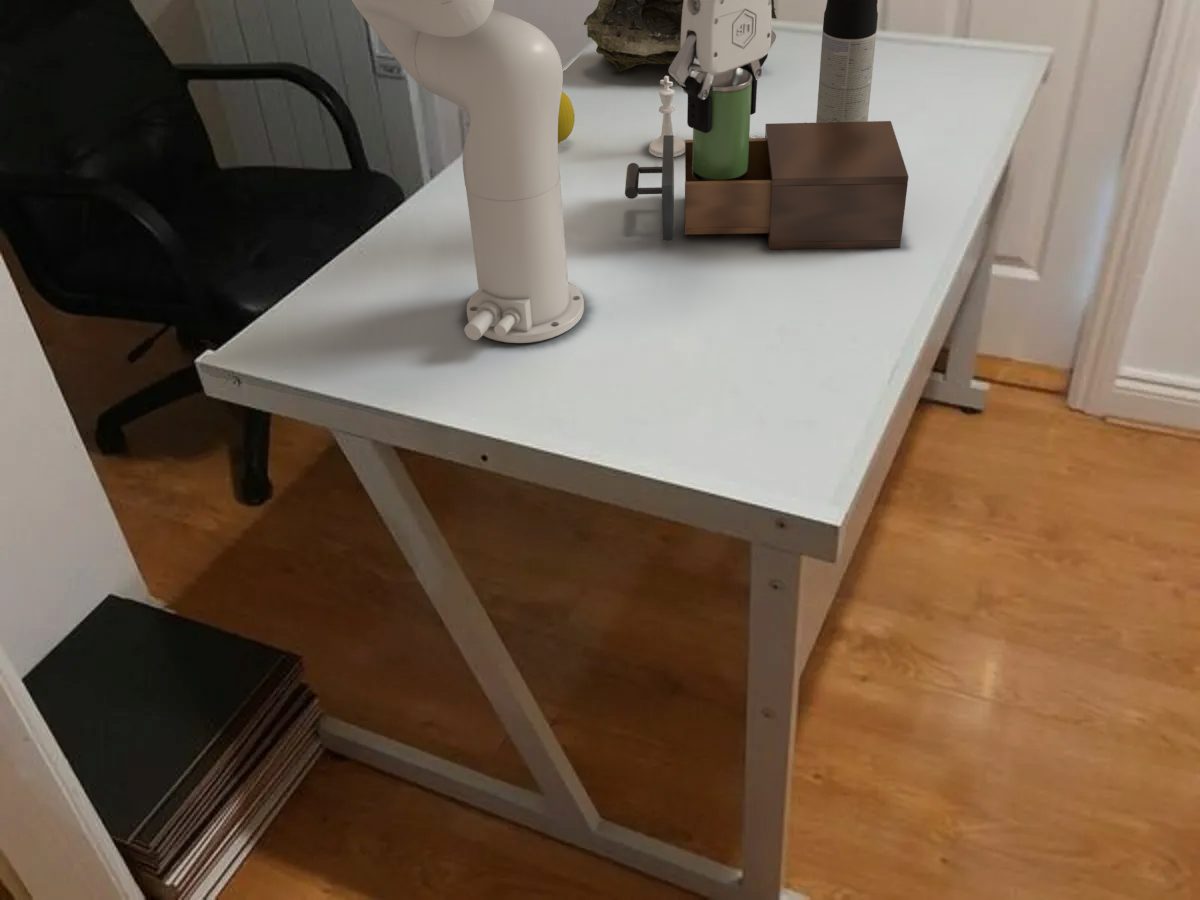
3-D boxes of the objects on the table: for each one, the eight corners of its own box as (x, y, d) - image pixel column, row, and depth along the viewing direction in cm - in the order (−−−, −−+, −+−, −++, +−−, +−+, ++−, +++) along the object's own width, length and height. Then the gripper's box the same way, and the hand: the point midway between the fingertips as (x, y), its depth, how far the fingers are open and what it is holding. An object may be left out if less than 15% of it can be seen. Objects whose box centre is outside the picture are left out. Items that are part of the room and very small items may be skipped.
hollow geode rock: (771, 102, 184) (790, 7, 185) (763, 68, 172) (783, -34, 173) (595, 83, 191) (614, -8, 192) (574, 49, 179) (595, -49, 180)
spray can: (864, 131, 163) (878, -22, 151) (867, 153, 158) (882, -3, 146) (813, 131, 164) (823, -21, 152) (815, 153, 159) (826, -2, 146)
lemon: (527, 149, 164) (522, 92, 159) (548, 133, 168) (543, 77, 163) (563, 156, 162) (559, 98, 157) (583, 140, 166) (580, 83, 161)
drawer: (624, 241, 141) (622, 186, 137) (629, 188, 151) (627, 135, 147) (781, 239, 139) (784, 183, 135) (774, 185, 150) (777, 132, 146)
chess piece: (672, 160, 159) (671, 86, 153) (641, 152, 162) (639, 79, 155) (693, 147, 162) (693, 73, 156) (662, 139, 165) (661, 66, 158)
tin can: (737, 188, 138) (741, 89, 131) (684, 180, 140) (685, 82, 133) (754, 166, 143) (759, 69, 136) (703, 158, 145) (705, 63, 138)
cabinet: (769, 249, 140) (772, 178, 134) (762, 190, 151) (765, 123, 146) (900, 247, 139) (908, 176, 133) (883, 188, 150) (891, 120, 145)
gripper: (693, -19, 120) (690, 152, 131) (809, -56, 129) (797, 107, 140) (641, -34, 125) (643, 133, 136) (756, -69, 134) (749, 91, 144)
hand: (721, 118), depth 138 cm, fingers closed on tin can, 6 cm apart
